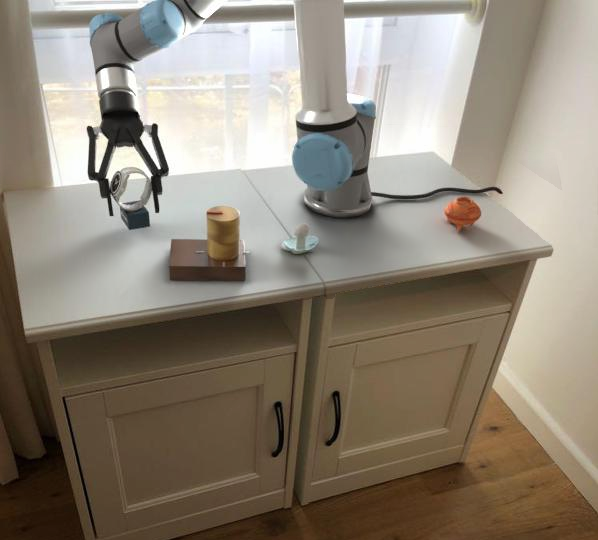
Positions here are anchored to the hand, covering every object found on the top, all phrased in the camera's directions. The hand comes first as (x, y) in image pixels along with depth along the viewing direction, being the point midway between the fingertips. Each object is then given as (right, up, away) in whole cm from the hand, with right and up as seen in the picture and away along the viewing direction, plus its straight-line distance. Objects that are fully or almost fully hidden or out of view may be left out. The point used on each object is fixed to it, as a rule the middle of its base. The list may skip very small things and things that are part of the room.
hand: (134, 212), depth 129 cm
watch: (-1, -1, +5) cm, 5 cm away
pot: (+68, +2, +17) cm, 70 cm away
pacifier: (+32, -6, +5) cm, 33 cm away
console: (+15, -11, -2) cm, 19 cm away
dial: (+18, -9, -4) cm, 20 cm away
